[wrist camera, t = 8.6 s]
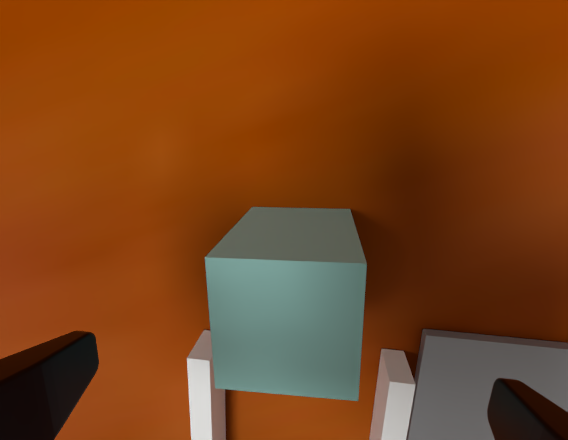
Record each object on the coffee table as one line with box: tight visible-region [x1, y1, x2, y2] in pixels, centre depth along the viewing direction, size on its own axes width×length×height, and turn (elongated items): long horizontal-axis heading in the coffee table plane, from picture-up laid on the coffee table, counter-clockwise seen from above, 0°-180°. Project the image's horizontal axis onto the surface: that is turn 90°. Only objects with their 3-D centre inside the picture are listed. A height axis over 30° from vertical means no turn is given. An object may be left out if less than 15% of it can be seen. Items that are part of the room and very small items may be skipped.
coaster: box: [406, 329, 568, 440], centre depth 18 cm, size 9×9×1 cm
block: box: [205, 207, 367, 401], centre depth 14 cm, size 5×5×7 cm
